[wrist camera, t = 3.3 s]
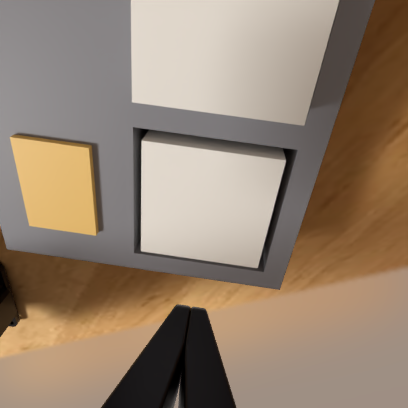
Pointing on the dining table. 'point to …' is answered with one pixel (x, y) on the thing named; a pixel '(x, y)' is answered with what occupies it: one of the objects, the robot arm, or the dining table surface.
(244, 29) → the key middle
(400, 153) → the dining table surface
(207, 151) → the key
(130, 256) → the key panel
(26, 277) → the dining table surface
